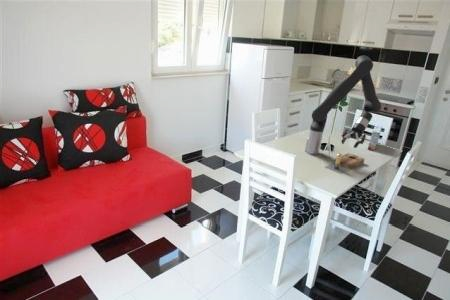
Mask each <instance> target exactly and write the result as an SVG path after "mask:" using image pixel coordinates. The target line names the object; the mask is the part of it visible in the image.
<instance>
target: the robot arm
mask: <svg viewBox="0 0 450 300" xmlns="http://www.w3.org/2000/svg"><path fill="white" fill-rule="evenodd" d="M354 64H355V65H354V66H355V69H354V70H353V71H352V72H351V74H349V75H348V76H347V77H345V78H343V79H342V80H340V81H339V82H338V83H337V84H336V85H335V86H334V87H333V88H332V90H331V91H330V92H329V93H328V95H327V96H326V98H324V101H322V102H321V103H320V105H318V106H317V107H316V108H315V109H314V110H313V111H312V112H311V119H312V121H311V124H310V128H309V133H308V138H306V143H305V147H304V148H305V149H304V152H305V153H307V154H308V155H309V154H310V155H315V156H316V155H319V154H320V150H321V144H322V142H323V141H322V140H323V134H324V130H325V128H326V123H327V119H328V114H329V113H330V111H331V110H332V109H333V108H334V107H336V106H337V105H338V104H339V103H341V102H342V100H343V99H344V98H346V96H348V95H349V93H350V92H351V91H352V90H353V89H354V87H355V86H357V85H358V83H359V82H360V81H361V85H362V86H361V87H362V92H363V97H364V100H366V102H365V103H364V104H363V107H362V110H361V114H360V115H359V117H358V118H357V119H356V121H355V123H354V125H353V126H352V127H351V130H348V128H346V129H345V130H344V131H343V132H342V134H341V138H342V139H341V144H342V145H344V144H345V142H346V140H348V139H354V140H356V142H355V143H354V145H353V148H354V149H356V148H358V146H359V145H360V144H361V145H363V144H364V142H365V140H366V139H367V135H366V134H364V132H365V131H366V129H368V125H369V123H370V121H372V118H373V114H372V113H379V112H380V111H381V109H382V103H381V102H380V99H379V97H378V96H377V92H376V88H375V84H374V82H373V78H372V75H371V74H372V73H371V71H372V69H374V68H373V67H374V62H373V60H371V58H370V57H369V56H367V55H360V56H358V57H357V58H356V60H355V63H354ZM360 138H361V139H360Z"/></svg>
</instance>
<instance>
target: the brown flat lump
mask: <svg viewBox="0 0 450 300" xmlns="http://www.w3.org/2000/svg"><path fill="white" fill-rule="evenodd" d="M335 162H336V158H335V159H334V163H335ZM364 162H365V158H364V157H360V156H358V155H355V154H352V153H350V152H348V153H345V154H342V157H341V162H340V166H341V167H343V168H346V169H350V170H352V169H354V168H357V167H358V166H362V165H363V164H364Z"/></svg>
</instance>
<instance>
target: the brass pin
mask: <svg viewBox="0 0 450 300" xmlns="http://www.w3.org/2000/svg"><path fill="white" fill-rule="evenodd" d="M342 155H343V154H342V153H337V154H336V162H335V161H334V165H335V166H334V169H336V170H338V169H339V166H340V167H341V165H340V162H341V157H342Z"/></svg>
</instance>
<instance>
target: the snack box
mask: <svg viewBox="0 0 450 300" xmlns="http://www.w3.org/2000/svg"><path fill="white" fill-rule="evenodd" d="M382 128H383V126H381V125H374V127H373V130H372V132H371V136H370V139H369V143H368V146H367V150H368V151H372V152H375V150H376V148H377V146H378V143H379V140H380V139H379V138H380V135H381V133H382Z"/></svg>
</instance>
